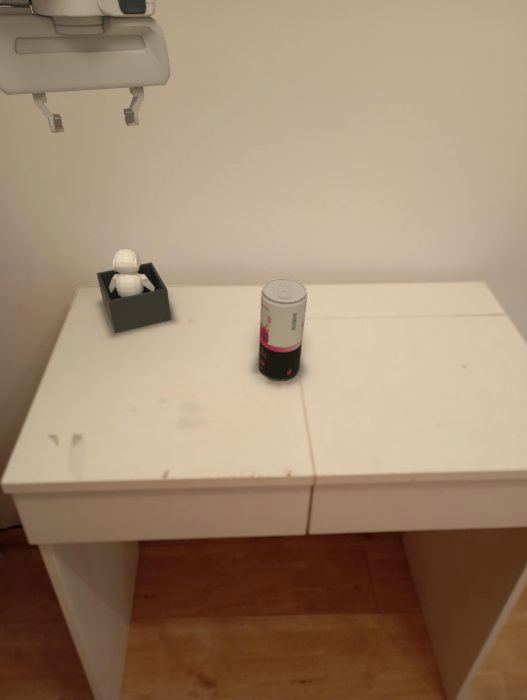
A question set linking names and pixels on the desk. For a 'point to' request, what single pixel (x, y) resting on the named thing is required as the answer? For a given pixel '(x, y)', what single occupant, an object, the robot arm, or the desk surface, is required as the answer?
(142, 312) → the dark grey hollow box
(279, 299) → the beverage can
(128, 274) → the figurine
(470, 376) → the desk surface
